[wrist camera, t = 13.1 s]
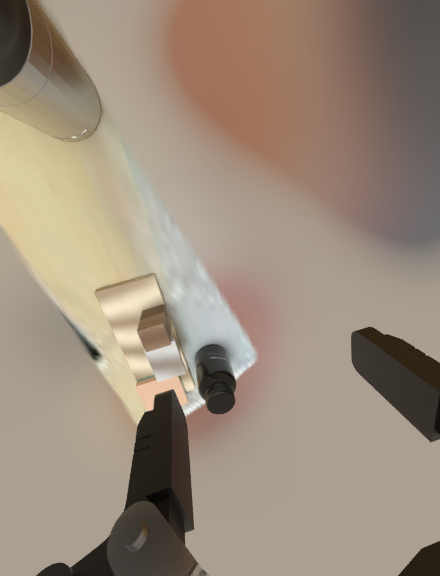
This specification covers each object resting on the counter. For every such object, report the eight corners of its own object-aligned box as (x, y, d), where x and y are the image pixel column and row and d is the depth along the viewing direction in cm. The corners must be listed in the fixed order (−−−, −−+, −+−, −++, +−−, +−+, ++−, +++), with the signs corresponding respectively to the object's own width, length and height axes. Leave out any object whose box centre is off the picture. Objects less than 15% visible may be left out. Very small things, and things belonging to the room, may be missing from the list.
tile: (135, 386, 45) (150, 415, 49) (176, 373, 46) (188, 402, 49) (136, 380, 47) (150, 409, 50) (176, 368, 48) (187, 397, 51)
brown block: (139, 311, 42) (133, 332, 36) (167, 303, 42) (166, 322, 36) (159, 360, 46) (157, 386, 40) (184, 352, 47) (186, 377, 40)
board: (96, 289, 40) (94, 292, 39) (154, 273, 41) (154, 275, 40) (148, 399, 51) (148, 404, 49) (194, 384, 51) (195, 389, 50)
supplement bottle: (220, 338, 48) (234, 380, 37) (231, 363, 51) (247, 408, 40) (189, 352, 48) (194, 398, 37) (201, 376, 51) (209, 425, 40)
